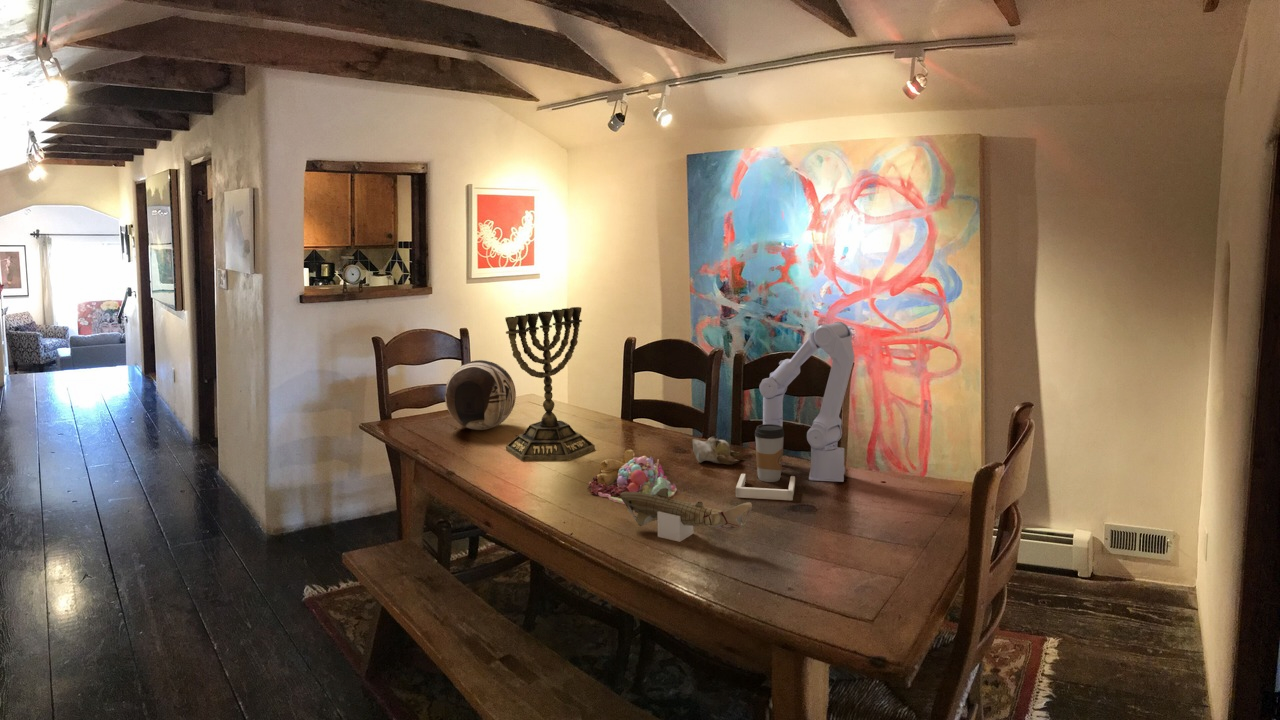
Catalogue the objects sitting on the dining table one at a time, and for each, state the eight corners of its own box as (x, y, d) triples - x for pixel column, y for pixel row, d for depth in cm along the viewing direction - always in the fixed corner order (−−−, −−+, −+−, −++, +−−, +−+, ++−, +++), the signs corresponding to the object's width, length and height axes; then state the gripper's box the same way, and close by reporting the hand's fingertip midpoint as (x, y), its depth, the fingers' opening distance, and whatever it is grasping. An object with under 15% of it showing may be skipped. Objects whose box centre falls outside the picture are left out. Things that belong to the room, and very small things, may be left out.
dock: (794, 485, 228) (795, 476, 228) (792, 500, 215) (792, 491, 215) (741, 482, 231) (741, 473, 231) (735, 497, 219) (735, 488, 218)
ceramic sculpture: (695, 429, 256) (743, 433, 254) (693, 456, 258) (741, 460, 255) (690, 438, 246) (740, 443, 243) (688, 466, 248) (738, 471, 245)
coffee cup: (777, 485, 228) (777, 432, 226) (749, 480, 233) (749, 428, 230) (788, 477, 235) (789, 425, 233) (761, 473, 240) (761, 422, 237)
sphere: (435, 436, 288) (431, 366, 285) (462, 420, 313) (458, 355, 309) (504, 438, 284) (501, 366, 280) (525, 421, 309) (523, 355, 305)
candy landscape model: (572, 491, 227) (571, 458, 226) (629, 471, 245) (628, 441, 243) (640, 510, 211) (640, 475, 209) (696, 488, 228) (696, 455, 227)
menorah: (546, 469, 247) (540, 319, 240) (483, 458, 260) (476, 316, 253) (613, 441, 277) (610, 308, 270) (553, 433, 290) (549, 305, 283)
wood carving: (742, 559, 178) (742, 509, 176) (611, 528, 198) (610, 483, 196) (760, 546, 185) (760, 498, 183) (632, 517, 205) (631, 473, 203)
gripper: (761, 411, 251) (760, 455, 253) (756, 422, 237) (756, 468, 239) (784, 412, 249) (784, 456, 252) (781, 423, 235) (781, 469, 238)
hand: (772, 462), depth 245 cm, fingers open, 7 cm apart
